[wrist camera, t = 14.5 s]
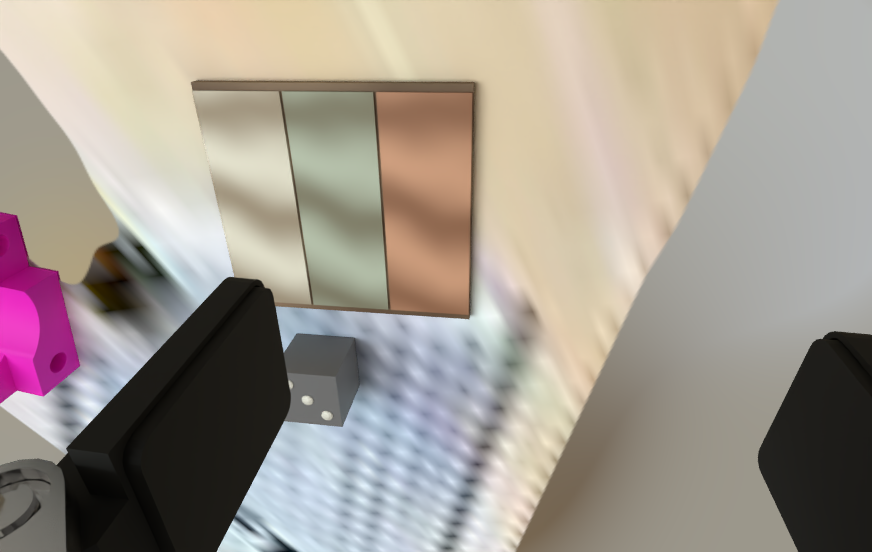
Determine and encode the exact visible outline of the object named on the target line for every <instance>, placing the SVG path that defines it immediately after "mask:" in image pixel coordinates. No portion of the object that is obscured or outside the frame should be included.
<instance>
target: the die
mask: <svg viewBox="0 0 872 552" xmlns="http://www.w3.org/2000/svg"><path fill="white" fill-rule="evenodd" d="M284 358H285V364H286V370H287V375H288V381H289V387H290V392H291V404H290V409H289V412H288V414H287V416H286V418H285V420H284V421H288V422H299V423H309V424H319V425H329V426H340V427H343V424H344V422H345V419H346V417H347V414H348V412H349V410H350V407H351V405H352V402H353V400H354V398H355V395H356V393H357V390H358V388H359V386H360V383H359V374H358V365H357V356H356V347H355V338H349V337H335V336H322V335H308V334H296V336H295V337H294V339H293V340H292V342H291V343H290V345H289V346H288V348H287V349H286V351H285V352H284Z"/></svg>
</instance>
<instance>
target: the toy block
mask: <svg viewBox="0 0 872 552" xmlns="http://www.w3.org/2000/svg"><path fill="white" fill-rule="evenodd" d="M26 256H27V257H28V258H29V256H28V252H27V249H26V245H25V242H24V238H23V235H22V231H21V227H20V224H19V220H18V216H17V215H13V214H8V213H3V212H0V403H2V402H3V401H4V400H5V399H7V398H8V397H9V396H10V395H12V394H13V393H14V392H16V391H22V392H26V393H30V394H35V395H39V396H45V395H46V394H47V393H48V392H49V391H51V390H52V389H53V388H54V387H55V386H57V385H58V384H59V383H60V382H61V381H63V380H64V379H65V378H66V377H67V376H68V375H70V374H71V373H72V372H73V371H74V370H76V369H77V368H78V367H79V366H80V364H79V360H78V356H77V352H76V348H75V344H74V340H73V336H72V332H71V328H70V324H69V320H68V316H67V312H66V307H65V303H64V299H63V295H62V291H61V287H60V283H59V280H60V275H59V271H56V270H51V269H46V268H42V267H40V268H42V269H40V268H35V267H30V266H29V264H28V260H27V257H26ZM60 281H61V280H60Z"/></svg>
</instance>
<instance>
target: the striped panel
mask: <svg viewBox="0 0 872 552" xmlns="http://www.w3.org/2000/svg"><path fill="white" fill-rule="evenodd" d="M191 85H192V89H193V91H192V94H193V98H194V103H195V107H196V111H197V116H198V120H199V125H200V129H201V133H202V138H203V142H204V146H205V151H206V155H207V159H208V164H209V168H210V172H211V177H212V181H213V185H214V190H215V194H216V199H217V203H218V207H219V212H220V216H221V220H222V225H223V229H224V233H225V238H226V242H227V246H228V251H229V255H230V259H231V264H232V268H233V273H234V277H237V278H248V279H259V280H260V281H262V283H263V284H264V287H265V288H269V289H271V291H272V293H273V296H274V302H275V306H281V307H296V308H311V309H326V310H341V311H356V312H371V313H386V314H401V315H416V316H431V317H446V318H461V319H469V318H470V287H471V233H472V180H473V126H474V82H316V81H194V82H191Z"/></svg>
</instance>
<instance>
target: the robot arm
mask: <svg viewBox="0 0 872 552" xmlns="http://www.w3.org/2000/svg"><path fill="white" fill-rule="evenodd" d="M290 404H291V392H290V387H289V381H288V375H287V370H286V364H285V358H284V353H283V347H282V342H281V336H280V330H279V325H278V319H277V313H276V308H275V302H274V296H273V293H272V291H271V289H269V288H265V287H264V284H263V283H262V281H260V280H259V279H248V278H237V277H228V278H226V279H225V280H224V281H223V282H222V283H221V284H220V285H219V286H218V287H217V288H216V289H215V290H214V291H213V292H212V293H211V294H210V296H209V297H208V298H207V299H206V300H205V301H204V302H203V303H202V304H201V305H200V306H199V307H198V308H197V309H196V310H195V312H194V313H193V314H192V315H191V316H190V317H189V318H188V319H187V320H186V321H185V322H184V323H183V324H182V325H181V326H180V328H179V329H178V330H177V331H176V332H175V333H174V334H173V335H172V336H171V337H170V338H169V339H168V340H167V341H166V342H165V343H164V345H163V346H162V347H161V348H160V349H159V350H158V351H157V352H156V353H155V354H154V355H153V356H152V357H151V358H150V359H149V361H148V362H147V363H146V364H145V365H144V366H143V367H142V368H141V369H140V370H139V371H138V372H137V373H136V374H135V375H134V377H133V378H132V379H131V380H130V381H129V382H128V383H127V384H126V385H125V386H124V387H123V388H122V389H121V390H120V391H119V393H118V394H117V395H116V396H115V397H114V398H113V399H112V400H111V401H110V402H109V403H108V404H107V405H106V406H105V407H104V408H103V410H102V411H101V412H100V413H99V414H98V415H97V416H96V417H95V418H94V419H93V420H92V421H91V422H90V423H89V424H88V426H87V427H86V428H85V429H84V430H83V431H82V432H81V433H80V434H79V435H78V436H77V437H76V438H75V439H74V440H73V442H72V443H71V444H70V445H69V446H68V447H67V448H66V449H67V451H68V453H67V454H66V456H65V457H64V458H63V459H62V460H61V461H60V462H59V463H58V464H57V465H55V464H54V463H53V462H51V461H47V460H42V459H25V460H18V461H14V462H10V463H6V464H3V465H0V552H217V550H218V548H219V546H220V544H221V542H222V540H223V538H224V536H225V534H226V532H227V530H228V528H229V526H230V525H231V523H232V521H233V519H234V517H235V515H236V513H237V511H238V509H239V507H240V505H241V503H242V501H243V499H244V497H245V496H246V494H247V492H248V490H249V488H250V486H251V484H252V482H253V480H254V478H255V476H256V474H257V472H258V470H259V469H260V467H261V465H262V463H263V461H264V459H265V457H266V455H267V453H268V451H269V449H270V447H271V445H272V443H273V442H274V440H275V438H276V436H277V434H278V432H279V430H280V428H281V426H282V424H283V422H284V420H285V418H286V416H287V414H288V412H289V409H290ZM758 463H759V468H760V471H761V474H762V476H763V478H764V480H765V482H766V484H767V486H768V488H769V491H770V493H771V495H772V497H773V499H774V501H775V503H776V505H777V508H778V509H779V512H780V514H781V516H782V518H783V520H784V522H785V524H786V526H787V529H788V531H789V533H790V535H791V537H792V539H793V541H794V544H795V546H796V547H797V550H798V552H872V335H870V334H857V333H846V332H836V331H834V332H830V333H828V334H827V335H825V336H824V338H823V339H818V340H816V341H814V342H813V343H812V345H811V346H810V348H809V350H808V352H807V354H806V356H805V358H804V361H803V362H802V364H801V367H800V368H799V371H798V373H797V374H796V376H795V379H794V380H793V382H792V385H791V387H790V389H789V391H788V393H787V395H786V397H785V399H784V401H783V403H782V405H781V407H780V409H779V411H778V413H777V415H776V417H775V419H774V421H773V423H772V425H771V427H770V429H769V431H768V433H767V435H766V437H765V439H764V441H763V443H762V445H761V447H760V450H759V454H758Z"/></svg>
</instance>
